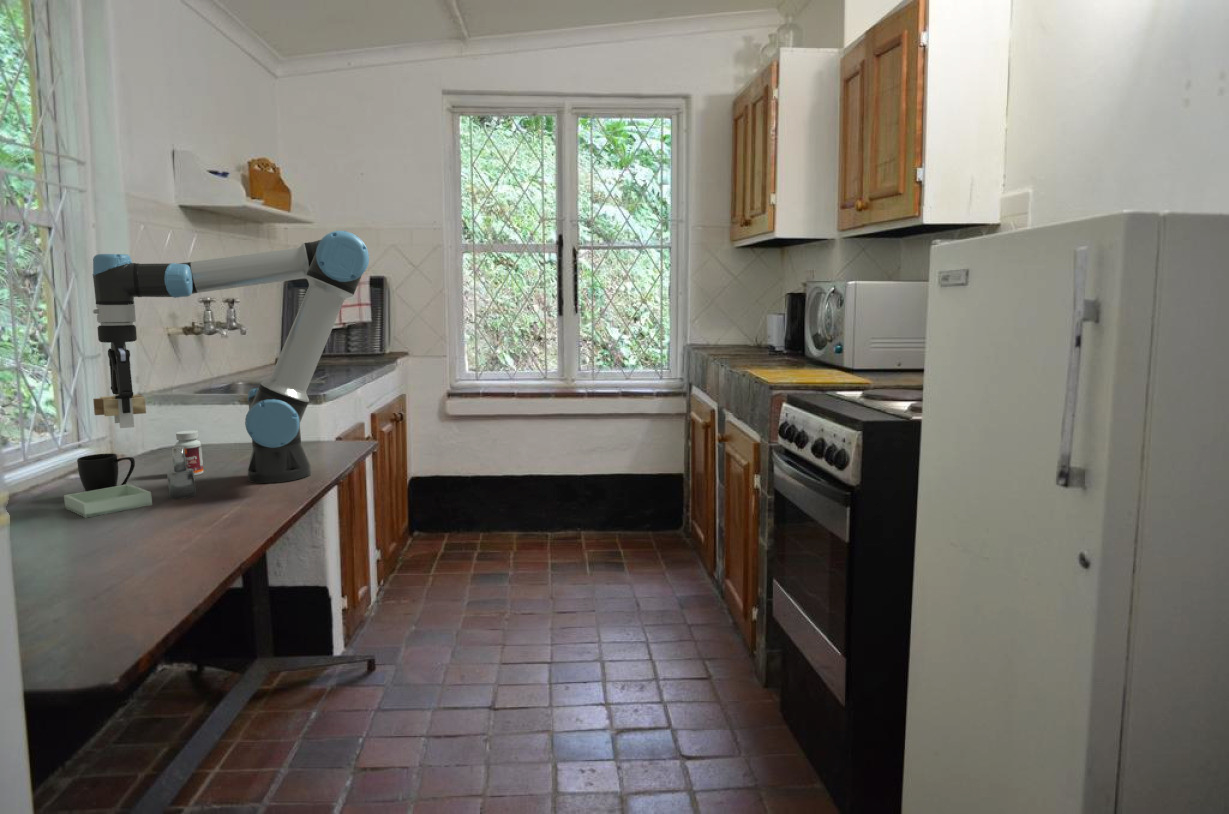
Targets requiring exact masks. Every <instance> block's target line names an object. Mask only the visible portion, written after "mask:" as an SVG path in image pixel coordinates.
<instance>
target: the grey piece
mask: <svg viewBox="0 0 1229 814" xmlns="http://www.w3.org/2000/svg"><path fill="white" fill-rule="evenodd" d="M171 453H172V454H171V455H172V462H173V469H171V470H168V471H166V473H167V476H166V477H167V484H168V494H169V499H175V500H177V499H179V500H180V499H185V498H186V499H187V498H192V497H194V496H196V495H197V489H196V481H195V476H194V469H192V468H186V460H185V451H184V447H172V448H171Z"/></svg>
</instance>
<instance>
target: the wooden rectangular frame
mask: <svg viewBox="0 0 1229 814" xmlns="http://www.w3.org/2000/svg"><path fill="white" fill-rule="evenodd" d="M132 405H133V415H139V414H140V415H141V414H143V415H144V414H147V407H146V398H145V397H144V396H143V395H141V394H139V393H138V394H133V396H132ZM93 411H94V412H93V413H94V416H104V417H114V416H116V415H119V409H118V399H115V396H113V395H111V396H110V395H109V396H108V395H107V396H106V395H105V396H99V398H98V397H97V398H93Z"/></svg>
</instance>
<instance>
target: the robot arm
mask: <svg viewBox="0 0 1229 814" xmlns="http://www.w3.org/2000/svg"><path fill="white" fill-rule="evenodd" d="M369 263H370V254H369V251H368V247H367V246H366V244H365V243H364V240H362V238H360V237H359V236H358V235H355V234H354V233H353V232H349V231H346V230H335V231H331V232H329V233H327V234H325V236H323V237H322V238H321V239H318V240H314V241H309V242H302V243H301V245H300V246H299V247H295V248H286V249H280V250H274V251H273V250H272V251H264V252H258V253H249V254H241V255H234V256H227V257H218V258H212V259H204V260H197V261H196V260H195V261H190V262H189V261H188V262H180V263H175V262H172V263H170V262H169V263H139V262H137V263H136V262H133V260H132V257H131V255H129V254H124V253H97V254H96V255H94V256H93V258H92V269H93V271H92V280H93V289H94V299H95V308H94V309H93V310H92V313H93V314H95V315H96V321H97V323H99V324H100V325H97V339H98V342H100V343H107V344H109V343H110V348H108V350H107V357H108V362H109V363H108V364H109V371H110V390H111V393H112V396H115V399H118V409H119V415H116V416H113V417H114V424H119V428H120V429H124V428H125V429H126V428H134V427H135V422H134V414H133V405H132V396H133V395H134V392H133V384H132V382H133V381H132V372H131V361H130V357H131V352H130V350H129V349H127V344H126V343H132V342H136V341H137V339H138V337H137V326H136V325H135V324H134V323H135V322H136V321H137V319H136V306H135V298H142V297H143V298H173V299H174V298H175V299H176V298H185V297H187V298H188V297H190V296H191V295H195V294H199V293H206V292H207V293H208V292H214V291H221V290H228V289H229V290H230V289H235V288H243V287H249V286H250V287H251V286H257V285H263V284H264V285H265V284H271V283H272V284H273V283H279V282H286V281H287V282H288V281H295V280H301V279H306V280H307V282H308V288H307V290H306V292H305V294H304V297H303V299H302V302H301V304H300V307H299V309H298V311H297V314H296V316H295V319H294V321H293V323H292V326H291V328H290V330H289V333H288V335H287V337H286V340H285V342H284V345H283V347H282V349H281V352H280V353H279V356H278V359H277V361H276V364H275V366H274V369H273V370H272V373H271V375H270V378H268V379H266V380H264V381H261V382H260V384H259V386H258V387H257V388H251V389H249V391H248V392H247V399H246V400H247V403H248V411H247V414H246V415H245V422H244V425H245V428H246V429H245V430H246V431H247V433H248V436H249V437H250V438H251V445H252V451H251V454H250V459H249V463H248V467H247V471H246V472H247V481H248V482H251V483H258V484H259V483H260V484H261V483H262V484H271V483H273V484H275V483H281V482H282V483H283V482H290V481H295V480H301V479H303V478H306V477H309V476H311V474H312V471H311V470H312V468H311V463H310V461H309V459H308V456H307V455H306V451H305V450H304V448H303V444H302V438H301V437H302V435H301V421H302V419H303V417H304V416H305V415H304V414H305V412H306V409H307V407H308V404H309V402H310V399H309V396H308V394H307V390H308V387H309V385H310V384H311V381H312V378H313V376H314V373H315V371H316V369H317V366H318V365H319V361H320V359H321V358H322V354H323V353H324V350H325V347H326V345H327V342H328V341H329V338H330V335H331V332H332V330H333V327H334V325H335V323H336V320H337V319H338V317H339V316H338V315H339V313H340V311H341V309H342V306H343V304H344V302H345V300H347V299H349V298H352V297H354V295H355V293H356V291H357V287H358V286H359V283H360V280H361V278H362V276H363V275H364V273H365V272H366V271H367V269H368V266H369Z"/></svg>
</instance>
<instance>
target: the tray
mask: <svg viewBox="0 0 1229 814" xmlns="http://www.w3.org/2000/svg"><path fill="white" fill-rule="evenodd" d="M63 500H64V507H65V509H66V510H68V511H70V510H71V511H70V512H72V511H73V513H74V512H75V513H74V514H76V513H77V515H78V514H79V515H78V516H80V515H81V517H82V516H83V517H82V518H84V517H85V519H88V517H89V518H92V517H93V516H94V517H98V516H97V515H99V516H104V515H109V514H113V513H119V512H123V511H128V510H133V509H138V508H143V507H148V506H153V498H152V491H149V490H147V489H144V488H142V487H138V486H135V485H133V484H131V483H126V484H125V485H121V484H120V485H117V486H114V487H109V488H103V489H97V490H92V491H81V492H76V493H70V494H65V495H63ZM108 513H109V514H108ZM103 514H104V515H103ZM94 517H93V518H94Z"/></svg>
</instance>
